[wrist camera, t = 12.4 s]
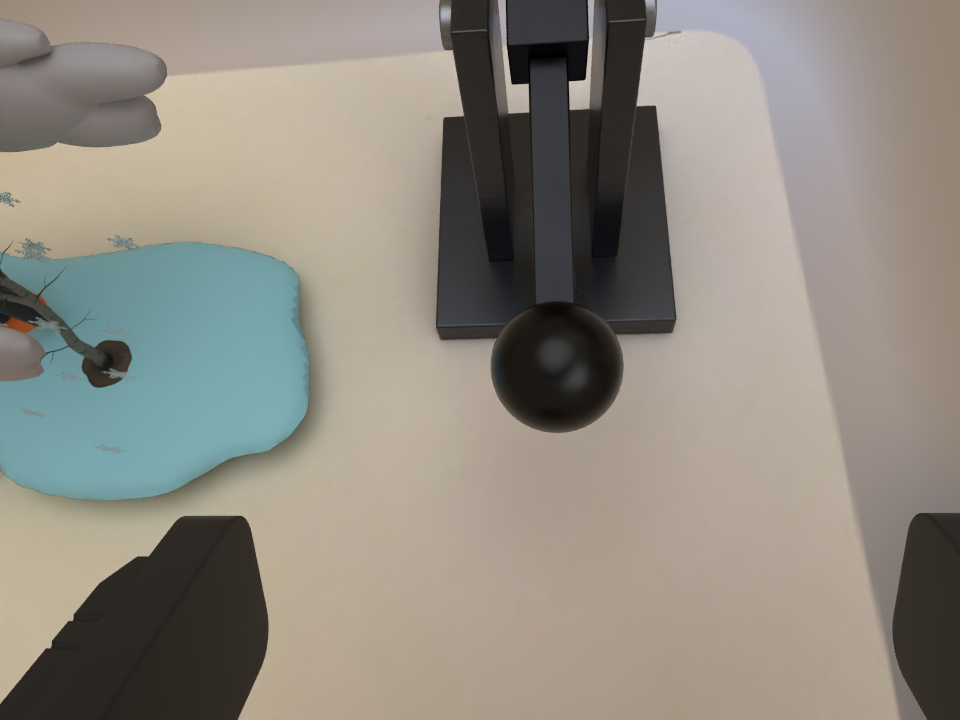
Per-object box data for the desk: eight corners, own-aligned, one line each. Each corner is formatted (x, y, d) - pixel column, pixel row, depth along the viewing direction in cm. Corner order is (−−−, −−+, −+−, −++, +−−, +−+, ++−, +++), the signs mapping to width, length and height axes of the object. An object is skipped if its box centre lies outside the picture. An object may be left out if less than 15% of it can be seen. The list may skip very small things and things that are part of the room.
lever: (620, 431, 23) (632, 431, 19) (496, 434, 23) (486, 433, 20) (604, 0, 24) (613, -75, 21) (488, 8, 25) (476, -64, 21)
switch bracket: (672, 333, 30) (743, 104, 18) (439, 340, 31) (365, 125, 19) (653, 123, 34) (700, -176, 22) (447, 134, 35) (388, -149, 23)
